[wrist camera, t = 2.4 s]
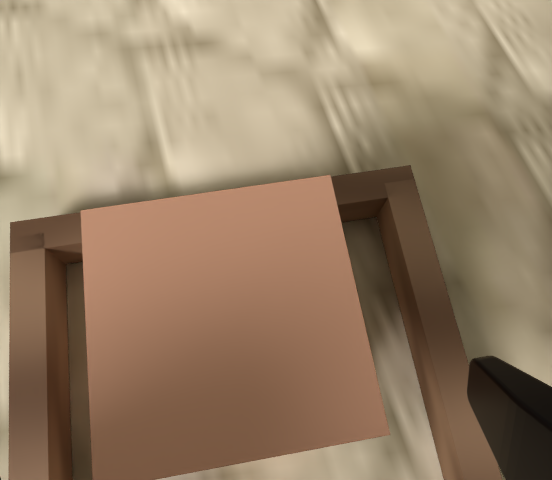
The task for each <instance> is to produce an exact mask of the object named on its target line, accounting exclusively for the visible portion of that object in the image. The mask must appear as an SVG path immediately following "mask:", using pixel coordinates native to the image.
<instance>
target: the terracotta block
mask: <svg viewBox="0 0 552 480" xmlns="http://www.w3.org/2000/svg"><path fill="white" fill-rule="evenodd" d="M81 232H82V254H83V277H84V299H85V321H86V344H87V366H88V388H89V410H90V433H91V455H92V477H93V480H155V479H160V478H166V477H171V476H176V475H181V474H187V473H192V472H197V471H202V470H208V469H213V468H218V467H223V466H229V465H234V464H239V463H244V462H250V461H255V460H260V459H265V458H271V457H276V456H281V455H286V454H292V453H297V452H302V451H307V450H313V449H318V448H323V447H328V446H334V445H339V444H344V443H349V442H355V441H360V440H365V439H371V438H376V437H381V436H386V435H390V432H389V427H388V423H387V419H386V414H385V410H384V406H383V401H382V397H381V393H380V388H379V384H378V380H377V375H376V371H375V367H374V362H373V358H372V353H371V349H370V345H369V340H368V336H367V332H366V327H365V323H364V319H363V314H362V310H361V306H360V301H359V297H358V293H357V288H356V284H355V280H354V275H353V271H352V267H351V262H350V258H349V254H348V249H347V245H346V241H345V236H344V232H343V228H342V223H341V219H340V215H339V210H338V206H337V202H336V197H335V193H334V189H333V184H332V180H331V176H330V175H326V176H319V177H312V178H305V179H297V180H290V181H283V182H276V183H269V184H262V185H255V186H248V187H241V188H234V189H227V190H220V191H213V192H206V193H199V194H192V195H185V196H178V197H171V198H164V199H157V200H150V201H143V202H136V203H129V204H122V205H115V206H108V207H101V208H94V209H87V210H81Z"/></svg>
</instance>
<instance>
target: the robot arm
mask: <svg viewBox="0 0 552 480" xmlns="http://www.w3.org/2000/svg"><path fill="white" fill-rule="evenodd" d="M467 397H468V401H469V403H470V406H471V408H472V410H473V412H474V414H475V416H476V418H477V421H478V423H479V425H480V427H481V429H482V431H483V433H484V436H485V438H486V440H487V442H488V444H489V446H490V448H491V450H492V453H493V455H494V457H495V459H496V461H497V463H498V465H499V467H500V469H501V471H502V473H503V475H504V477H505V479H506V480H552V387H551V386H549V385H547V384H545V383H544V382H542V381H540V380H538V379H536V378H534V377H532V376H531V375H529V374H527V373H525V372H523V371H521V370H519V369H517V368H516V367H514V366H512V365H510V364H508V363H506V362H504V361H502V360H501V359H499V358H497V357H494V356H485V357H479V358H474V359H472V360H471V362H470V365H469V374H468V383H467ZM0 480H1V478H0Z"/></svg>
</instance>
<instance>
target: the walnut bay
mask: <svg viewBox="0 0 552 480" xmlns="http://www.w3.org/2000/svg"><path fill="white" fill-rule="evenodd" d="M331 180H332V184H333V189H334V193H335V197H336V202H337V206H338V210H339V215H340V219H341V222H347V221H354V220H360V219H367V218H373V217H377V221H378V225H379V229H380V233H381V237H382V241H383V244H384V248H385V252H386V256H387V260H388V264H389V268H390V272H391V276H392V279H393V283H394V287H395V291H396V295H397V299H398V303H399V307H400V311H401V314H402V318H403V322H404V326H405V330H406V334H407V338H408V342H409V346H410V349H411V353H412V357H413V361H414V365H415V369H416V373H417V377H418V381H419V384H420V388H421V392H422V396H423V400H424V404H425V408H426V412H427V416H428V419H429V423H430V427H431V431H432V435H433V439H434V443H435V447H436V451H437V454H438V458H439V462H440V466H441V470H442V474H443V478H444V480H502V477H501V474H500V470H499V467H498V463H497V461H496V459H495V457H494V455H493V453H492V450H491V448H490V446H489V444H488V442H487V440H486V438H485V436H484V433H483V431H482V429H481V427H480V425H479V423H478V421H477V418H476V416H475V414H474V412H473V410H472V408H471V406H470V403H469V401H468V397H467V383H468V374H469V364H468V361H467V357H466V354H465V350H464V347H463V344H462V340H461V337H460V333H459V330H458V327H457V323H456V320H455V316H454V313H453V309H452V306H451V303H450V299H449V296H448V292H447V289H446V286H445V282H444V279H443V275H442V272H441V268H440V265H439V262H438V258H437V255H436V251H435V248H434V244H433V241H432V238H431V234H430V231H429V227H428V224H427V221H426V217H425V214H424V210H423V207H422V203H421V200H420V197H419V193H418V190H417V186H416V183H415V180H414V176H413V173H412V169H411V166H410V165H409V166H402V167H395V168H388V169H381V170H374V171H367V172H360V173H353V174H346V175H339V176H332V177H331ZM82 261H83V254H82V232H81V212H80V213H73V214H66V215H59V216H52V217H45V218H38V219H31V220H24V221H17V222H10V344H9V480H72V450H71V419H70V388H69V356H68V325H67V294H66V264H69V263H76V262H82Z"/></svg>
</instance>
